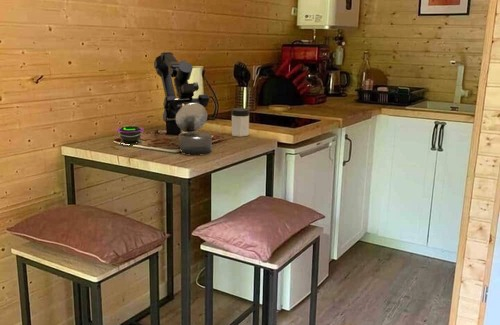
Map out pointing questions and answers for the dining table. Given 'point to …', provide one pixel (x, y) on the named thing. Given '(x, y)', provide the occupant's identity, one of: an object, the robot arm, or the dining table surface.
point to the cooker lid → (191, 116)
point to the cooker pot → (196, 143)
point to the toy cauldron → (130, 135)
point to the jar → (240, 122)
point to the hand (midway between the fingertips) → (191, 117)
